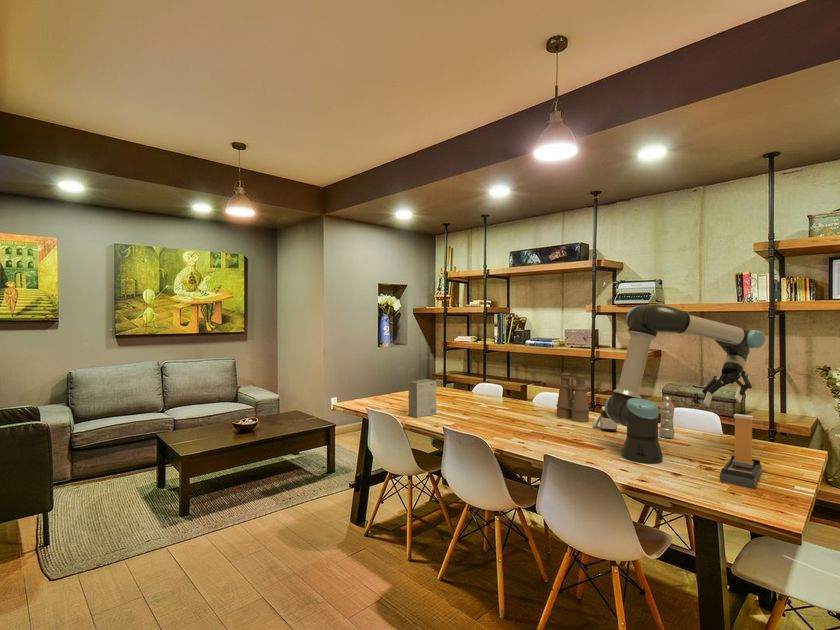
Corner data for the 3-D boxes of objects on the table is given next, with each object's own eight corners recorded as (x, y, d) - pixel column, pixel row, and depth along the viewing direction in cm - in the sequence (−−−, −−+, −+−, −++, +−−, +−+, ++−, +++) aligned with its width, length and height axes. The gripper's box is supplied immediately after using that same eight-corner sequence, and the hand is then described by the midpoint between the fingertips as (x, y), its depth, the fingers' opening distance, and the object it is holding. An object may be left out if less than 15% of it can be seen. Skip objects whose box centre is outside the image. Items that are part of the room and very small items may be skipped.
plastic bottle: (657, 437, 220) (657, 396, 220) (661, 435, 225) (662, 394, 225) (671, 440, 216) (672, 398, 216) (676, 437, 220) (676, 396, 220)
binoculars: (552, 416, 266) (552, 373, 266) (564, 414, 271) (564, 372, 271) (581, 423, 248) (582, 377, 248) (593, 421, 253) (594, 376, 254)
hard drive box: (428, 412, 272) (428, 378, 272) (436, 414, 266) (437, 380, 266) (407, 415, 262) (408, 381, 262) (416, 418, 256) (416, 382, 256)
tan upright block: (752, 468, 165) (752, 417, 165) (732, 465, 169) (732, 415, 169) (753, 465, 169) (754, 415, 169) (734, 461, 173) (734, 413, 173)
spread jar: (619, 433, 228) (619, 409, 228) (595, 431, 230) (595, 408, 230) (613, 427, 240) (613, 405, 240) (590, 426, 242) (590, 404, 242)
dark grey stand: (754, 488, 155) (754, 475, 155) (719, 481, 161) (719, 468, 161) (761, 472, 171) (761, 460, 171) (729, 466, 178) (730, 454, 178)
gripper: (768, 367, 193) (757, 404, 182) (711, 378, 214) (699, 412, 204) (757, 355, 192) (745, 391, 182) (701, 367, 214) (688, 400, 203)
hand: (721, 402), depth 193 cm, fingers open, 13 cm apart
